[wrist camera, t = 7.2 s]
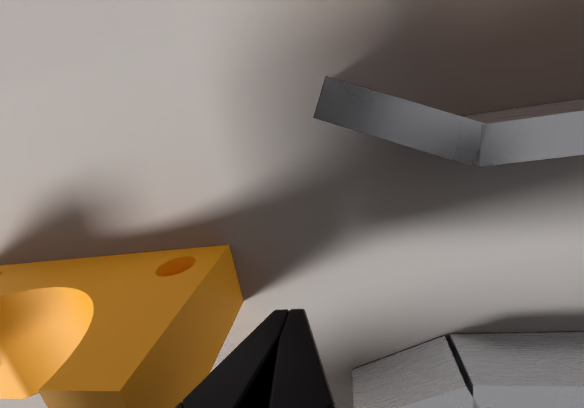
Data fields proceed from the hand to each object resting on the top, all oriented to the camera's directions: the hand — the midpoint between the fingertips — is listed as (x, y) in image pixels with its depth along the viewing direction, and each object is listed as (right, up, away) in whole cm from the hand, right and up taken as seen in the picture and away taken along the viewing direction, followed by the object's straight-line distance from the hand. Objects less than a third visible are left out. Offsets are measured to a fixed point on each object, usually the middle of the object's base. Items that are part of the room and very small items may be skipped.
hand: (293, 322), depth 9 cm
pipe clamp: (-8, -1, +6) cm, 10 cm away
